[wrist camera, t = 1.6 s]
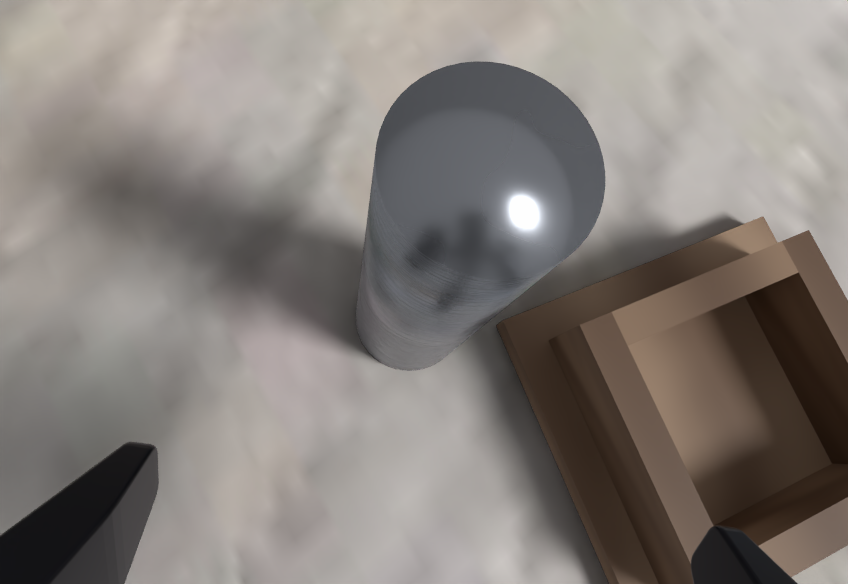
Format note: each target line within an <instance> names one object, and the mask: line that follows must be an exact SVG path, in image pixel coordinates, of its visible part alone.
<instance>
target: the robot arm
mask: <svg viewBox="0 0 848 584" xmlns="http://www.w3.org/2000/svg"><path fill="white" fill-rule="evenodd" d="M158 483H159V479H158V453H157V449H156V447H155V446H154V445H151V444H144V443H137V442H128V443H126V444H124V445H122V446H121V447H120V448H118V449H117V450H115V451H114V452H113V453H111V454H110V455H109V456H107V457H106V458H105V459H103V460H102V461H101V462H99V463H98V464H96V465H95V466H94V467H92V468H91V469H90V470H88V471H87V472H86V473H84V474H83V475H82V476H80V477H79V478H78V479H76V480H75V481H73V482H72V483H71V484H69V485H68V486H67V487H65V488H64V489H63V490H61V491H60V492H59V493H57V494H56V495H54V496H53V497H52V498H50V499H49V500H48V501H46V502H45V503H44V504H42V505H41V506H40V507H38V508H37V509H36V510H34V511H33V512H31V513H30V514H29V515H27V516H26V517H25V518H23V519H22V520H21V521H19V522H18V523H17V524H15V525H14V526H12V527H11V528H10V529H8V530H7V531H6V532H4V533H3V534H2V535H0V584H124V583H125V580H126V578H127V575H128V572H129V569H130V567H131V564H132V561H133V558H134V555H135V553H136V550H137V547H138V544H139V542H140V539H141V536H142V533H143V531H144V528H145V525H146V522H147V520H148V517H149V514H150V511H151V509H152V506H153V503H154V500H155V497H156V494H157V490H158ZM691 573H692V578H693V583H694V584H797V583H796V582H795V581H794V580H793V579H792V578H791V577H790V576H789V575H788V574H787V573H786V572H785V571H784V570H783V569H782V568H781V567H780V566H779V565H778V564H776V563H775V562H774V561H773V560H772V559H771V558H770V557H769V556H768V555H767V554H766V553H765V552H764V551H763V550H762V549H761V548H760V547H759V546H758V545H757V544H755V543H754V542H753V541H752V540H751V539H750V538H749V537H748V536H747V535H746V534H745V533H744V532H743V531H741V530H740V529H737V528H734V527H727V526H720V525H715V526H713V527H711V528H710V529H709V530H708V532H707V533H706V535H705V536H704V538H703V539H702V541H701V542H700V544H699V545H698V547H697V548H696V550H695V551H694V553H693V555H692V558H691Z"/></svg>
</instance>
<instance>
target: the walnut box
mask: <svg viewBox="0 0 848 584" xmlns="http://www.w3.org/2000/svg"><path fill="white" fill-rule="evenodd" d="M496 326H497V329H498V331H499V333H500V336H501V338H502V340H503V342H504V345H505V347H506V349H507V352H508V354H509V356H510V358H511V361H512V363H513V365H514V367H515V370H516V372H517V374H518V377H519V379H520V381H521V383H522V386H523V388H524V390H525V393H526V395H527V397H528V399H529V402H530V404H531V406H532V408H533V411H534V413H535V415H536V418H537V420H538V422H539V424H540V427H541V429H542V431H543V434H544V436H545V438H546V440H547V443H548V445H549V447H550V449H551V452H552V454H553V456H554V459H555V461H556V463H557V465H558V468H559V470H560V472H561V475H562V477H563V479H564V481H565V484H566V486H567V488H568V490H569V493H570V495H571V497H572V500H573V502H574V504H575V506H576V509H577V511H578V513H579V516H580V518H581V520H582V522H583V525H584V527H585V529H586V531H587V534H588V536H589V538H590V541H591V543H592V545H593V547H594V550H595V552H596V554H597V557H598V559H599V561H600V563H601V566H602V568H603V570H604V573H605V575H606V577H607V579H608V582H609V584H694V583H693V578H692V573H691V558H692V555H693V553H694V551H695V550H696V548H697V547H698V545H699V544H700V542H701V541H702V539H703V538H704V536H705V535H706V533H707V532H708V530H709V529H710V528H711V527H713V526H715V525H720V526H727V527H734V528H737V529H740V530H741V531H743V532H744V533H745V534H746V535H747V536H748V537H749V538H750V539H751V540H752V541H753V542H754V543H755V544H757V545H758V546H759V547H760V548H761V549H762V550H763V551H764V552H765V553H766V554H767V555H768V556H769V557H770V558H771V559H772V560H773V561H774V562H775V563H776V564H778V565H779V566H780V567H781V568H782V569H783V570H784V571H785V572H786V573H787V574H788V575H789V576H790V577H792V576H794V575H796V574H798V573H799V572H801V571H803V570H805V569H806V568H808V567H810V566H812V565H814V564H815V563H817V562H819V561H821V560H822V559H824V558H826V557H828V556H829V555H831V554H833V553H835V552H837V551H838V550H840V549H842V548H844V547H845V546H847V545H848V300H847V298H846V297H845V295H844V293H843V291H842V289H841V288H840V286H839V284H838V282H837V280H836V279H835V277H834V275H833V273H832V271H831V270H830V268H829V266H828V264H827V262H826V260H825V259H824V257H823V255H822V253H821V251H820V250H819V248H818V246H817V244H816V242H815V241H814V239H813V237H812V235H811V233H810V232H809V230H808V231H806V232H803V233H801V234H798V235H796V236H793V237H791V238H789V239H786V240H784V241H781V242H779V243H777V241H776V239H775V237H774V235H773V233H772V232H771V230H770V228H769V226H768V224H767V222H766V220H765V219H764V217H760V218H758V219H755V220H753V221H750V222H748V223H745V224H743V225H740V226H738V227H735V228H733V229H730V230H728V231H725V232H723V233H720V234H718V235H715V236H713V237H710V238H708V239H705V240H703V241H700V242H698V243H695V244H693V245H690V246H688V247H685V248H683V249H680V250H678V251H675V252H673V253H670V254H668V255H665V256H663V257H660V258H658V259H655V260H653V261H650V262H648V263H645V264H643V265H640V266H638V267H635V268H633V269H630V270H628V271H625V272H623V273H620V274H618V275H615V276H613V277H610V278H608V279H605V280H603V281H600V282H598V283H595V284H593V285H590V286H588V287H585V288H583V289H580V290H578V291H575V292H573V293H570V294H568V295H565V296H563V297H560V298H558V299H555V300H553V301H550V302H548V303H545V304H543V305H540V306H538V307H535V308H533V309H530V310H528V311H525V312H523V313H520V314H518V315H515V316H513V317H510V318H508V319H505V320H503V321H501V322H500V323H499V324H497V325H496Z"/></svg>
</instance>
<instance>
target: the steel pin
mask: <svg viewBox="0 0 848 584" xmlns="http://www.w3.org/2000/svg"><path fill="white" fill-rule="evenodd" d="M604 191H605V169H604V162H603V156H602V153H601V149H600V146H599V143H598V141H597V138H596V136H595V134H594V131H593V130H592V128H591V126H590V124H589V123H588V121H587V119H586V118H585V116H584V115H583V114H582V112H581V111H580V110H579V108H578V107H577V106H576V105H575V104H574V103H573V102H572V101H571V100H570V99H569V98H568V97H567V96H566V95H565V94H564V93H563V92H561V91H560V90H559V89H558V88H557V87H555V86H554V85H552V84H551V83H549V82H548V81H546V80H545V79H543V78H541V77H539V76H537V75H535V74H533V73H531V72H528V71H526V70H523V69H520V68H518V67H514V66H510V65H506V64H501V63H494V62H466V63H459V64H455V65H450V66H446V67H444V68H441V69H438V70H435V71H433V72H431V73H429V74H427V75H425V76H423V77H422V78H420V79H419V80H417V81H416V82H415V83H413V84H412V85H410V86H409V87H408V88H407V89H406V90H405V91H404V92H403V93H402V94H401V95H400V96H399V97H398V99H397V100H396V101H395V102H394V104H393V105H392V106H391V108H390V110H389V112H388V113H387V115H386V117H385V119H384V121H383V124H382V126H381V129H380V132H379V136H378V140H377V145H376V153H375V161H374V169H373V177H372V185H371V193H370V202H369V210H368V218H367V226H366V234H365V242H364V250H363V259H362V267H361V275H360V283H359V291H358V299H357V308H356V326H357V331H358V334H359V337H360V339H361V341H362V343H363V345H364V346H365V348H366V349H367V350H368V352H369V353H370V354H371V355H372V356H373V357H374V358H375V359H377V360H378V361H380V362H381V363H383V364H385V365H387V366H389V367H392V368H395V369H399V370H407V371H412V370H420V369H424V368H427V367H430V366H432V365H434V364H436V363H438V362H439V361H441V360H442V359H443V358H444V357H446V356H447V355H448V354H449V353H451V352H452V351H453V350H454V349H455V348H457V347H458V346H459V345H460V344H462V343H463V342H464V341H465V340H466V339H468V338H469V337H470V336H471V335H473V334H474V333H475V332H476V331H478V330H479V329H480V328H481V327H482V326H484V325H485V324H486V323H487V322H489V321H490V320H491V319H492V318H493V317H495V316H496V315H497V314H498V313H500V312H501V311H502V310H503V309H504V308H506V307H507V306H508V305H509V304H511V303H512V302H513V301H514V300H515V299H517V298H518V297H519V296H520V295H522V294H523V293H524V292H525V291H527V290H528V289H529V288H530V287H531V286H533V285H534V284H535V283H536V282H538V281H539V280H540V279H541V278H542V277H544V276H545V275H546V274H547V273H549V272H550V271H551V270H552V269H553V268H555V267H556V266H557V265H558V264H560V263H561V262H562V261H563V260H564V259H566V258H567V257H568V256H569V255H570V254H571V253H573V252H574V251H575V250H576V249H577V248H578V247H579V246H580V245H581V244H582V242H583V241H584V240H585V239H586V238H587V236H588V235H589V233H590V231H591V230H592V228H593V227H594V225H595V223H596V220H597V218H598V216H599V213H600V210H601V207H602V203H603V199H604Z"/></svg>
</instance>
